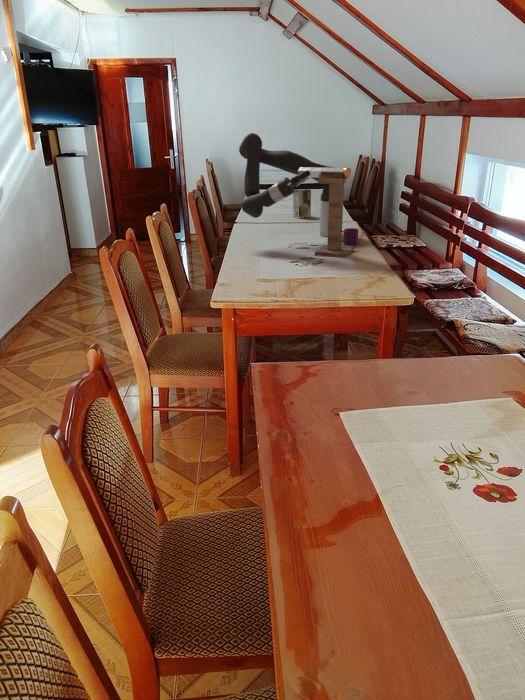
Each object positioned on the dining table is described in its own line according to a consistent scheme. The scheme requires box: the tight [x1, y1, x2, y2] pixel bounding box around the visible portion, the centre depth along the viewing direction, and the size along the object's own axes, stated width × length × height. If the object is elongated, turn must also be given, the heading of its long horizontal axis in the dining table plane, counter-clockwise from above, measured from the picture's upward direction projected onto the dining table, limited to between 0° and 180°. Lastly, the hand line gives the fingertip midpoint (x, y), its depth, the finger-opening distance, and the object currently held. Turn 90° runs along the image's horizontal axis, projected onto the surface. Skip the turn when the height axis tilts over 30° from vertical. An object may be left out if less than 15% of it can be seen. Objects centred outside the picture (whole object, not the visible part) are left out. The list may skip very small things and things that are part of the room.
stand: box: [314, 174, 354, 258], centre depth 232 cm, size 14×14×34 cm
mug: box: [342, 227, 359, 246], centre depth 254 cm, size 7×10×7 cm
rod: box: [298, 167, 352, 180], centre depth 227 cm, size 4×22×4 cm, turn 67°
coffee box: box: [292, 188, 312, 219], centre depth 324 cm, size 9×6×16 cm
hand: (312, 171), depth 229 cm, fingers open, 8 cm apart
